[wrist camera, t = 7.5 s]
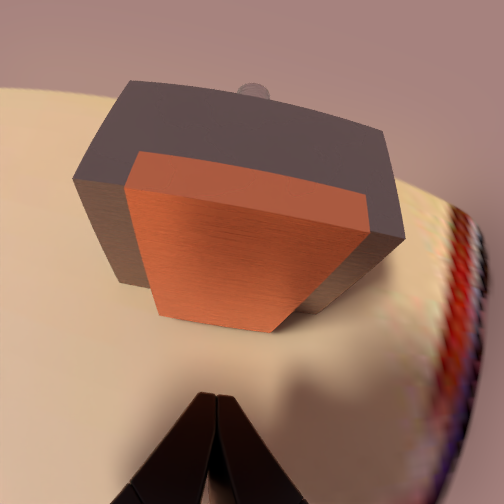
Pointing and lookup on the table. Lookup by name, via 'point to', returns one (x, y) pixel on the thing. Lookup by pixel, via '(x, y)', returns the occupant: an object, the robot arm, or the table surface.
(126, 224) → the block
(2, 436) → the table surface
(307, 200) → the lock pin
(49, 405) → the table surface
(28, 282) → the table surface
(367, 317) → the table surface
